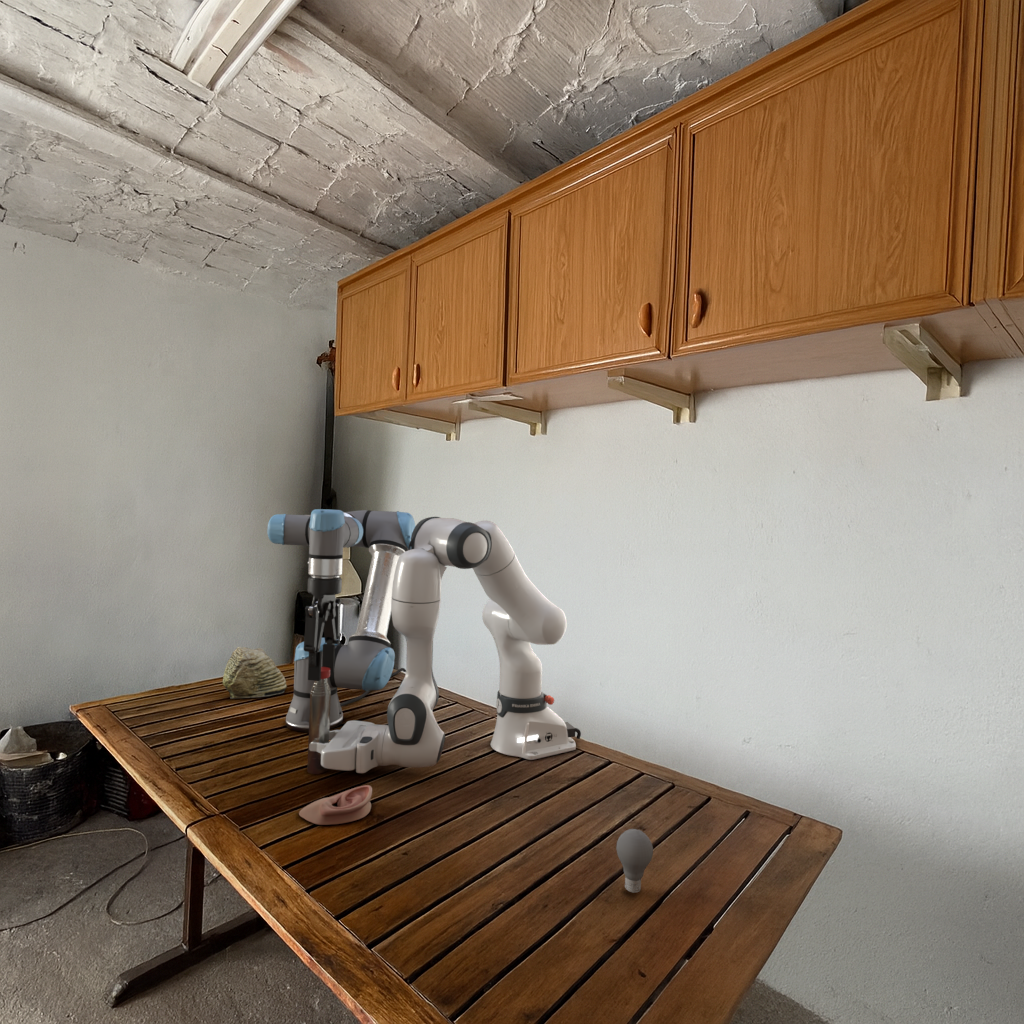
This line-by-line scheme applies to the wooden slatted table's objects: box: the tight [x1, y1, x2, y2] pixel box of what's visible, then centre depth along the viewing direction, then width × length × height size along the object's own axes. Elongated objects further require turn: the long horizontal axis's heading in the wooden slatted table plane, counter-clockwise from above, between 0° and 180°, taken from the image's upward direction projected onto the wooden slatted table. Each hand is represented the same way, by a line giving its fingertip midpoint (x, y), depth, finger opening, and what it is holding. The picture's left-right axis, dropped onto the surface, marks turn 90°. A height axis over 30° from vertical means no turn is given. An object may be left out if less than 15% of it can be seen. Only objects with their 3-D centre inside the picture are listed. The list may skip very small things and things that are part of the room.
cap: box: [321, 667, 330, 679], centre depth 146 cm, size 4×4×2 cm
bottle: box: [306, 678, 331, 775], centre depth 146 cm, size 5×5×23 cm
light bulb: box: [615, 828, 654, 894], centre depth 106 cm, size 6×6×10 cm
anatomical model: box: [298, 784, 373, 826], centre depth 127 cm, size 13×4×12 cm
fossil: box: [222, 646, 288, 699], centre depth 198 cm, size 9×18×15 cm, turn 132°
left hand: (321, 675), depth 146 cm, fingers open, 6 cm apart
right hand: (314, 740), depth 147 cm, fingers closed on bottle, 4 cm apart
